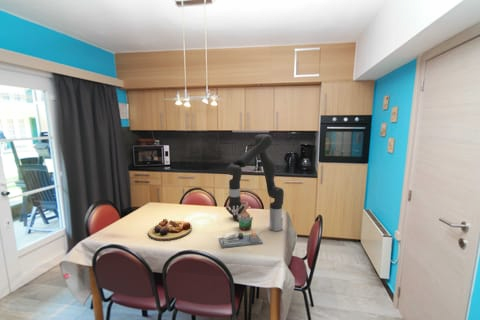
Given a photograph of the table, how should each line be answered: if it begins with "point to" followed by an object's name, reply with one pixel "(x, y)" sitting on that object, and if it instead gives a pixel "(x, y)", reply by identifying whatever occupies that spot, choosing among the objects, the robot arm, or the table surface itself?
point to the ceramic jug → (244, 212)
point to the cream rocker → (230, 235)
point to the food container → (245, 222)
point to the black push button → (240, 235)
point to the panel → (241, 241)
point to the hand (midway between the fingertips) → (235, 219)
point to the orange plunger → (253, 234)
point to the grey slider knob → (224, 239)
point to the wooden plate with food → (170, 230)
